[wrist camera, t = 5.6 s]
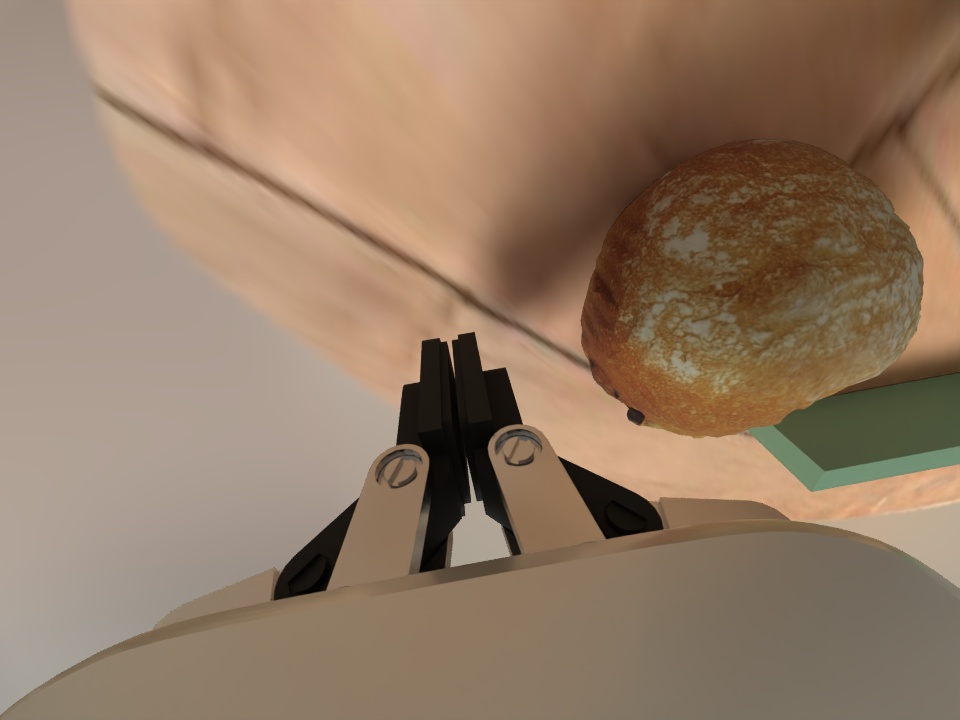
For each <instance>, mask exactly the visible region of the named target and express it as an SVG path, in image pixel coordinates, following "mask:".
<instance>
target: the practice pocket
mask: <svg viewBox="0 0 960 720" xmlns="http://www.w3.org/2000/svg"><path fill="white" fill-rule="evenodd" d="M748 431H749V432H750V433H751V434H752V435H753V436H754V437H755V438H756V439H757V440H758V441H759V442H760V443H761V444H762V445H763V446H764V447H765V448H766V449H767V450H768V451H769V452H770V453H771V454H772V455H773V456H775V457H776V458H777V459H778V460H779V461H780V462H781V463H782V464H783V465H784V466H785V467H786V468H787V469H788V470H789V471H790V472H791V473H792V474H793V475H794V476H795V477H796V478H797V479H798V480H799V481H800V482H801V483H803V484H804V485H805V486H806V487H807V488H808V489H809V490H810V491H811V492H814V491H819V490H824V489H829V488H835V487H840V486H845V485H851V484H856V483H861V482H867V481H872V480H877V479H883V478H888V477H893V476H899V475H904V474H909V473H914V472H920V471H925V470H930V469H936V468H941V467H946V466H952V465H957V464H960V373H955V374H950V375H944V376H939V377H933V378H928V379H923V380H917V381H912V382H906V383H901V384H895V385H890V386H885V387H879V388H874V389H868V390H863V391H857V392H852V393H847V394H841V395H836V396H830V397H825V398H822V399H820V400H817V401H815V402H814V403H813V404H811V405H810V406H808V407H807V408H805V409H796V410H794V411H792V412H790V413H789V414H788V415H787V416H786V417H785V418H784V419H783V420H782V421H781V422H780V423H778V424H775V425H770V426H766V427H754V428H751V429H748Z"/></svg>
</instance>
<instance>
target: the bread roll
mask: <svg viewBox="0 0 960 720" xmlns="http://www.w3.org/2000/svg"><path fill="white" fill-rule="evenodd" d="M909 228H910V227H909V226H908V225H907V224H906V223H904V222H903V221H902V220H901V219H900V218H899V217H898V216H897V215H896V214H895V213H894V208H893V206H892V203H891V201H890V200H889V199H887V197H886V196H885V194H884V193H883V192H882V191H881V190H880V189H879V188H878V187H877V186H876V185H875V184H874V183H873V182H872V181H871V180H870V179H868V178H867V177H865V176H863V175H861V174H860V173H858V172H856V171H854V170H853V169H852V168H851V167H850V166H849V165H848V164H847V163H846V162H845V161H843V160H841V159H839V158H838V157H836V156H834V155H832V154H830V153H828V152H826V151H824V150H822V149H819V148H817V147H815V146H812V145H808V144H804V143H799V142H795V141H791V140H776V139H755V140H745V141H739V142H734V143H729V144H725V145H722V146H719V147H717V148H714V149H711V150H709V151H707V152H705V153H702V154H700V155H698V156H696V157H694V158H692V159H690V160H688V161H686V162H684V163H682V164H680V165H678V166H677V167H675V168H674V169H672V170H670V171H669V172H667V173H666V174H665V175H663V176H662V177H660V178H659V179H658V180H657V181H655V182H654V183H653V184H652V185H651V186H649V187H648V188H647V189H646V190H645V191H644V192H643V193H642V194H641V195H639V196H638V197H637V198H636V199H635V200H634V201H633V202H632V203H631V204H630V205H629V206H628V207H627V208H626V209H625V210H624V211H623V213H622V214H621V215H620V217H619V218H618V220H617V221H616V222H615V223H614V225H613V226H612V227H611V229H610V230H609V232H608V234H607V236H606V239H605V240H604V243H603V247H602V251H601V253H600V254H599V256H598V258H597V262H596V269H595V270H594V273H593V275H592V277H591V280H590V284H589V288H588V292H587V296H586V299H585V302H584V306H583V311H582V316H581V326H582V339H581V343H582V347H583V350H584V353H585V355H586V357H587V358H588V360H589V363H590V367H591V371H592V375H593V378H594V380H595V381H596V382H597V384H599V385H600V386H601V387H602V388H603V389H604V390H605V391H606V393H607V394H609V395H611V396H612V397H614V398H616V399H618V400H619V401H621V403H624V404H625V405H626V406H627V407H628V408H629V410H628V412H627V417H628V419H629V420H630V421H632V422H633V423H635V424H636V425H639V426H648V427H652V428H657V429H664V430H667V431H670V432H673V433H676V434H679V435H686V436H691V437H693V438H703V437H705V436H710V437H722V436H725V435H735V434H737V433H739V432H741V431H745V430H748V429H751V428H754V427H766V426H770V425H775V424H778V423H780V422H781V421H782V420H783V419H784V418H785V417H786V416H787V415H788V414H789V413H790V412H792V411H794V410H796V409H805V408H807V407H808V406H810V405H811V404H813V403H814V402H815V401H817V400H820V399H822V398H825V397H828V396H830V395H833V394H835V393H837V392H839V391H841V390H842V389H844V388H846V387H848V386H851V385H854V384H857V383H860V382H863V381H866V380H868V379H871V378H873V377H876V376H879V375H880V374H881V373H882V372H883V371H884V370H885V369H886V368H887V367H889V366H890V365H891V364H892V363H893V362H895V361H896V360H897V359H898V358H899V357H900V356H901V354H902V353H903V351H904V350H905V348H906V347H907V345H908V343H909V341H910V340H911V338H912V337H913V335H914V334H915V332H916V331H917V325H918V322H919V319H920V314H919V313H920V310H921V304H920V303H921V300H922V296H923V284H924V282H923V258H922V255H921V253H920V251H919V250H918V248H917V244H916V241H915V239H914V237H913V235H912V234H911V232H910V231H909Z"/></svg>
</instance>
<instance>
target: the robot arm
mask: <svg viewBox="0 0 960 720" xmlns="http://www.w3.org/2000/svg"><path fill="white" fill-rule="evenodd" d="M452 347H453V358H454V369H455V376H454V371H453V367H452V362H451V358H450V353H449V348H448V344H447V341H446V342H441V341H440V338H436V339H431V340H425V341H422V351H421V371H420V382H418V383H412V384H407V385H404V386H403V391H402V399H401V408H400V417H399V426H398V434H397V443H396V446H394V447H392V448H390V449H387V450H386V451H385V452H383V453H382V454H380V455H379V456H378V457H377V458H376V459H375V461H374V462H373V464H372V466H371V467H370V469H369V472H368V475H367V478H366V481H365V483H364V486H363V489H362V492H361V494H360V497H359V498H358V499H357V500H356V501H355V502H353V503H352V504H351V505H350V506H349V507H348V508H347V509H346V510H345V511H344V512H343V513H341V514H340V515H339V516H338V517H337V518H336V519H335V520H334V521H333V522H331V523H330V524H329V525H328V526H327V527H326V528H325V529H324V530H323V531H322V532H320V533H319V534H318V535H317V536H316V537H315V538H314V539H313V540H312V541H311V542H310V543H308V544H307V545H306V546H305V547H304V548H303V549H302V550H301V551H299V552H298V553H297V554H296V555H295V556H294V557H293V558H292V559H291V560H290V562H289V563H288V564H287V565H286V566H285V568H284V569H282V570H279V571H278V570H277V569H276V568H272V569H269V570H267V571H264V572H262V573H260V574H257V575H254V576H252V577H250V578H247V579H245V580H242V581H240V582H237V583H235V584H232V585H230V586H227V587H225V588H222V589H220V590H217V591H215V592H212V593H210V594H208V595H205V596H203V597H200V598H198V599H195V600H193V601H190V602H188V603H185V604H183V605H181V606H180V607H178V608H176V609H174V610H173V611H171V612H170V613H169V614H167V615H166V616H165V617H164V618H163V619H162V620H160V621H159V622H158V623H157V624H156V626H155V627H154V628H153V629H152V630H151V631H148V632H145V633H142V634H139V635H137V636H134V637H132V638H130V639H127V640H125V641H123V642H120V643H118V644H116V645H113V646H111V647H109V648H107V649H105V650H102V651H100V652H98V653H96V654H94V655H92V656H91V657H89V658H87V659H85V660H83V661H81V662H80V663H78V664H76V665H74V666H72V667H71V668H69V669H67V670H65V671H63V672H61V673H60V674H58V675H56V676H55V677H53V678H51V679H50V680H48V681H47V682H45V683H44V684H42V685H40V686H39V687H37V688H36V689H34V690H33V691H31V692H30V693H28V694H27V695H26V696H24V697H23V698H21V699H20V700H19V701H17V702H16V703H14V704H13V705H12V706H11V707H9V708H8V709H7V710H6V711H5V712H3V713H2V714H1V715H0V720H960V589H959V588H958V587H957V586H955V585H954V584H952V583H951V582H950V581H948V580H947V579H945V578H944V577H943V576H941V575H940V574H939V573H937V572H936V571H934V570H933V569H931V568H929V567H928V566H927V565H925V564H924V563H922V562H920V561H919V560H917V559H916V558H914V557H912V556H910V555H908V554H907V553H905V552H903V551H901V550H899V549H897V548H896V547H893V546H891V545H888V544H886V543H884V542H882V541H879V540H877V539H874V538H871V537H868V536H864V535H861V534H858V533H854V532H851V531H847V530H843V529H839V528H834V527H829V526H824V525H818V524H813V523H805V522H798V521H791V520H790V519H789V518H787V517H786V516H785V515H783V514H782V513H781V512H779V511H778V510H776V509H774V508H772V507H770V506H768V505H765V504H763V503H759V502H754V501H746V500H720V499H693V498H666V497H660V499H659V502H653V501H648V500H646V499H645V498H643V497H641V496H640V495H638V494H636V493H634V492H632V491H630V490H628V489H626V488H624V487H622V486H620V485H618V484H615V483H613V482H611V481H609V480H607V479H605V478H603V477H601V476H599V475H597V474H594V473H592V472H590V471H588V470H586V469H584V468H582V467H580V466H578V465H576V464H573V463H571V462H569V461H567V460H565V459H563V458H561V457H559V456H557V455H556V453H555V451H554V450H553V448H552V446H551V445H550V443H549V441H548V439H547V438H546V437H545V435H544V434H543V433H542V432H541V431H539V430H538V429H536V428H534V427H531V426H528V425H523V423H522V420H521V416H520V413H519V410H518V406H517V403H516V400H515V396H514V393H513V390H512V387H511V383H510V380H509V377H508V373H507V370H506V368H499V369H493V370H488V371H482V366H481V361H480V356H479V351H478V346H477V341H476V336H475V332H472V333H466V334H460V335H458V339H457V340H452ZM467 460H468V465H469V469H470V473H471V478H472V482H473V487H474V491H475V495H476V500H477V501H482V500H483V503H484V508H485V513H486V515H488V516H489V517H491V518H493V519H494V520H495V521H497V522H498V523H500V524H501V527H502V532H503V534H504V538H505V540H506V544H507V547H508V549H509V553H510V557H505V558H500V559H494V560H489V561H483V562H478V563H472V564H467V565H462V566H456V567H450V565H451V555H452V545H453V531H452V530H453V528H454V527H455V526H456V525H457V523H458V522H459V521H460V520H461V519H462V516H465V507H464V504H465V503H471V495H470V485H469V475H468V466H467Z"/></svg>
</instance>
